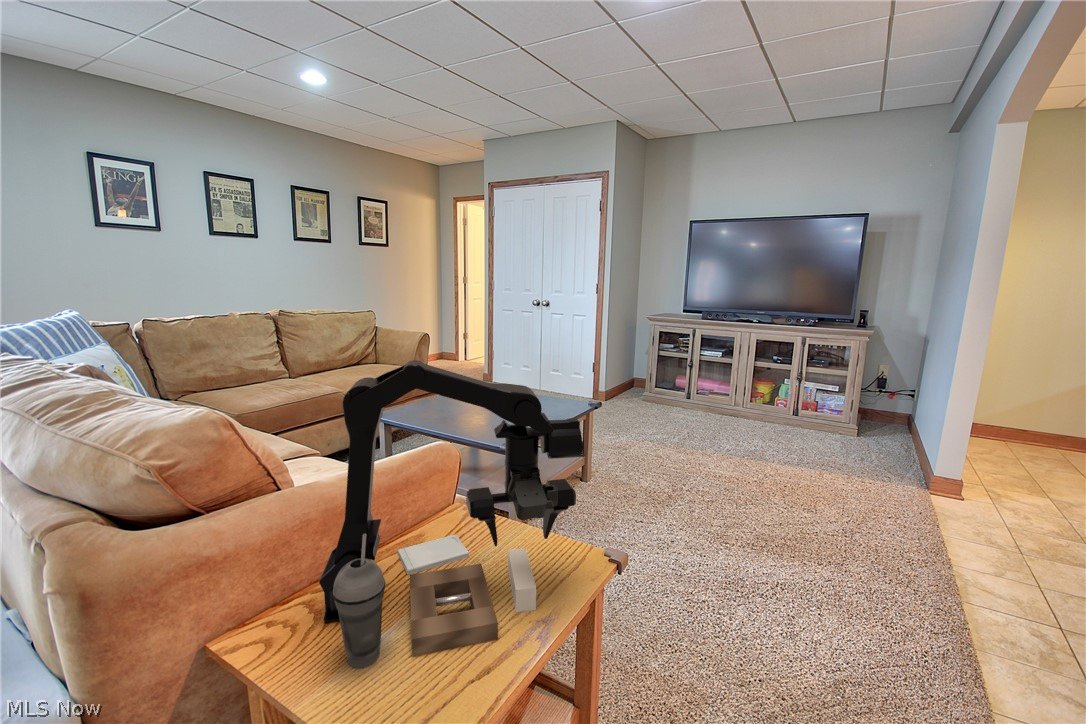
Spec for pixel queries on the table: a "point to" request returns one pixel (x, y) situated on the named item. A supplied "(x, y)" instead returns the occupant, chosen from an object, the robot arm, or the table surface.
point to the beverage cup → (360, 609)
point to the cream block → (521, 580)
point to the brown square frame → (452, 627)
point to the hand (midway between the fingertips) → (520, 541)
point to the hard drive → (432, 554)
